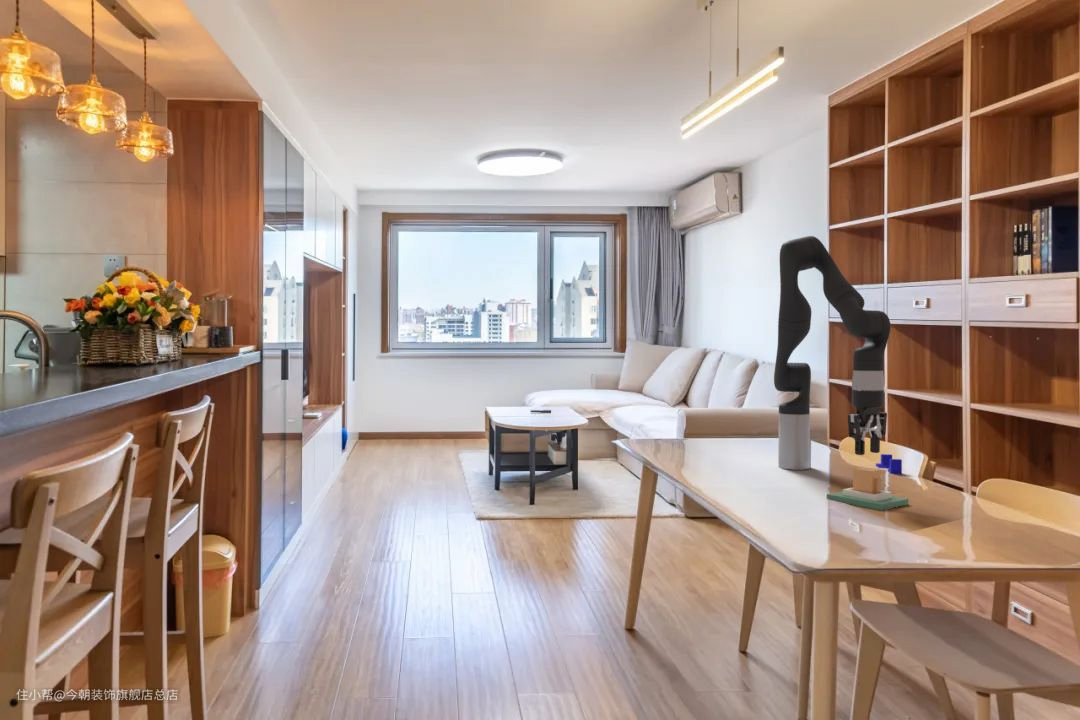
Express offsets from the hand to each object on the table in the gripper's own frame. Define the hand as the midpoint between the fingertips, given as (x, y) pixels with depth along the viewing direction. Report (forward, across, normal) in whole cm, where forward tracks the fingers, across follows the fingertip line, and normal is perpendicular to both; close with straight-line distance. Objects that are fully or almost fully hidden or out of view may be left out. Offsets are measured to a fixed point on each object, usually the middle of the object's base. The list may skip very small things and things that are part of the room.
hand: (867, 453), depth 183 cm
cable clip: (+13, -44, -20) cm, 50 cm away
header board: (+13, 0, 0) cm, 13 cm away
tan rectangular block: (+11, 0, 0) cm, 11 cm away
